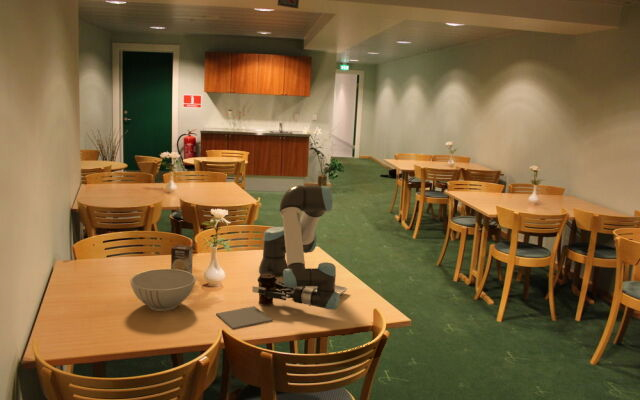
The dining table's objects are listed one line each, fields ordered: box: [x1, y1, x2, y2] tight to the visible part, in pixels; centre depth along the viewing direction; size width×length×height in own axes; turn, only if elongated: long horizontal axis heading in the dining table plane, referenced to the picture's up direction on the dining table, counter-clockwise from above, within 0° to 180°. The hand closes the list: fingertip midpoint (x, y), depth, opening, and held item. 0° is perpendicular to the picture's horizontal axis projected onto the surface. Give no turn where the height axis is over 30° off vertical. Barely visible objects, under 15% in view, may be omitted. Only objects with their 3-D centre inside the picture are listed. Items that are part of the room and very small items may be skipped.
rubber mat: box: [215, 306, 273, 330], centre depth 234 cm, size 18×16×1 cm
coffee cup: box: [257, 273, 278, 306], centre depth 250 cm, size 9×8×13 cm
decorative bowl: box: [129, 268, 197, 312], centre depth 240 cm, size 27×27×12 cm
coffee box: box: [170, 244, 194, 274], centre depth 274 cm, size 9×6×16 cm
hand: (257, 285), depth 251 cm, fingers closed on coffee cup, 7 cm apart
